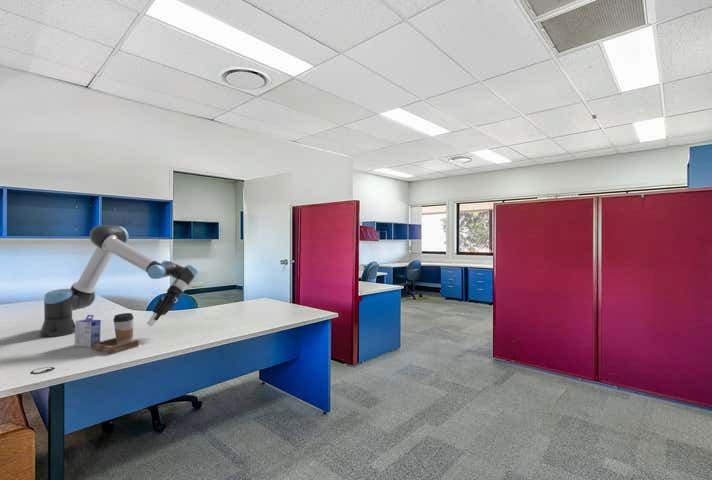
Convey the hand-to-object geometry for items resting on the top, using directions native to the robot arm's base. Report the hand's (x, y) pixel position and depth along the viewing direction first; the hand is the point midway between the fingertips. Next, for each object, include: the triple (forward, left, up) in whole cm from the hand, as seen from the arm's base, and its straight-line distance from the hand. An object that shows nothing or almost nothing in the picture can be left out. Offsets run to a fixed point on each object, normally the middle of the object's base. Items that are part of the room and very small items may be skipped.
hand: (149, 324), depth 186 cm
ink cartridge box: (-17, -20, -8) cm, 27 cm away
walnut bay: (0, -18, -7) cm, 19 cm away
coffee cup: (0, -13, -7) cm, 15 cm away
